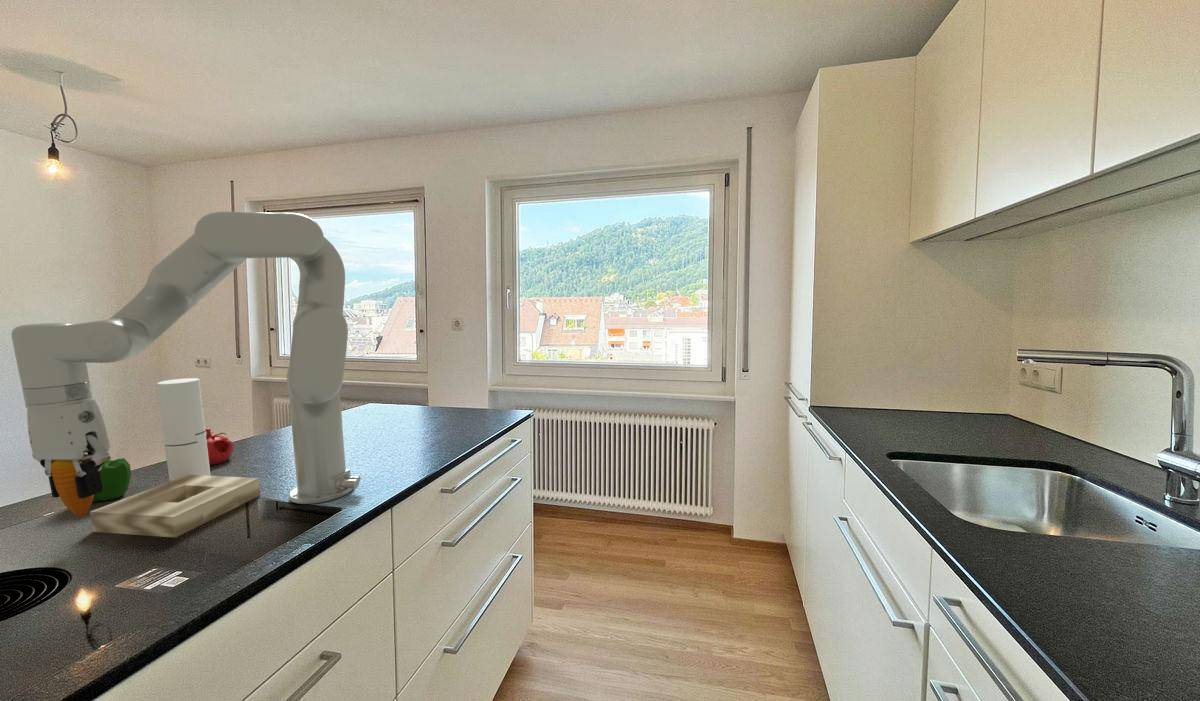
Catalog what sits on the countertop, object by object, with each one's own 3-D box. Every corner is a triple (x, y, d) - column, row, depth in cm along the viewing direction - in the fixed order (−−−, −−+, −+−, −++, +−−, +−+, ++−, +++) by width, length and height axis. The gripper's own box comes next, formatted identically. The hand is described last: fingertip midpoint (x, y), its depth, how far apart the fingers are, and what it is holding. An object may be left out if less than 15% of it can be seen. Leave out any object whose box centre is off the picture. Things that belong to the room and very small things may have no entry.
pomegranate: (180, 472, 116) (174, 437, 114) (196, 459, 125) (191, 426, 124) (228, 465, 120) (223, 431, 118) (240, 453, 129) (235, 421, 127)
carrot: (64, 526, 78) (48, 442, 76) (58, 519, 81) (42, 438, 79) (106, 514, 82) (91, 434, 80) (98, 507, 85) (84, 430, 83)
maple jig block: (260, 495, 102) (258, 478, 101) (176, 537, 84) (173, 516, 83) (189, 491, 104) (187, 474, 103) (92, 531, 86) (90, 511, 86)
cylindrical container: (219, 479, 110) (207, 378, 107) (189, 492, 103) (177, 384, 100) (192, 478, 111) (180, 378, 108) (161, 491, 104) (148, 383, 101)
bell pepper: (80, 498, 101) (73, 454, 99) (133, 486, 107) (127, 445, 105) (78, 510, 95) (71, 464, 94) (134, 497, 101) (128, 453, 100)
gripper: (125, 389, 81) (142, 486, 84) (46, 389, 83) (65, 484, 86) (72, 400, 74) (92, 506, 76) (-13, 399, 76) (9, 502, 78)
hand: (78, 493), depth 81 cm, fingers closed on carrot, 4 cm apart
